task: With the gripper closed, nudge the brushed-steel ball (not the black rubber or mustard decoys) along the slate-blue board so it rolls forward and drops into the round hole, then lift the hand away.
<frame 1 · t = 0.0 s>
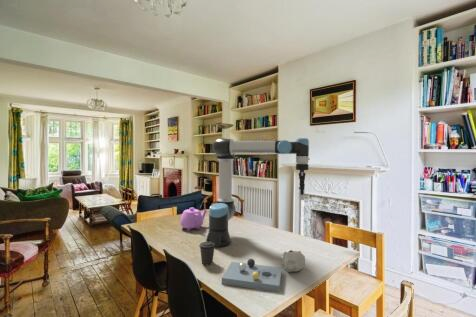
hand: (301, 198, 150), 28 cm above the table, fingers open, 13 cm apart
candle: (293, 268, 117), on the table
coffee cup: (207, 263, 122), on the table
black ball: (251, 262, 113), point 4 cm above the table, touching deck
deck: (253, 278, 108), on the table
teapot: (195, 228, 179), on the table
steel ball: (242, 267, 109), point 4 cm above the table, touching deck
mustard ball: (255, 275, 102), point 4 cm above the table, touching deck
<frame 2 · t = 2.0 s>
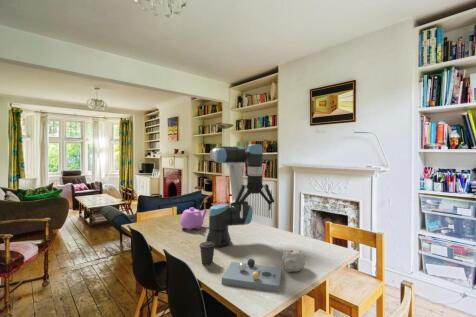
hand: (254, 217, 123), 23 cm above the table, fingers open, 13 cm apart
nothing on the table moved.
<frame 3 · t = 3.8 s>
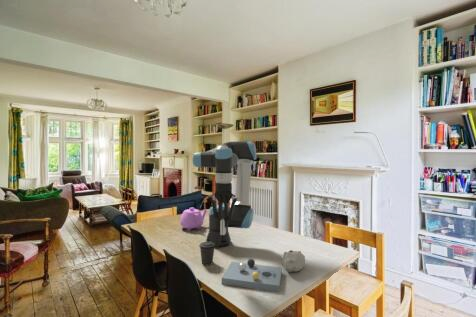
hand: (223, 233, 111), 18 cm above the table, fingers closed
nothing on the table moved.
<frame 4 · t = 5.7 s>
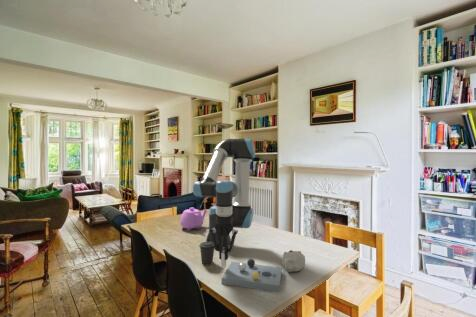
hand: (223, 266, 111), 4 cm above the table, fingers closed
nothing on the table moved.
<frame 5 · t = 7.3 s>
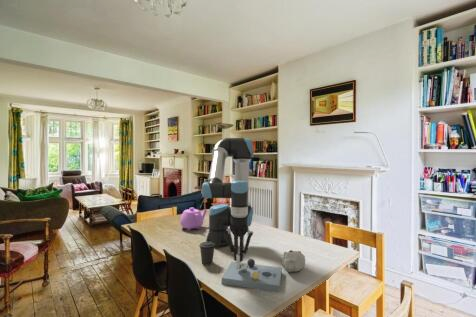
hand: (238, 268, 109), 4 cm above the table, fingers closed
steel ball: (243, 267, 108), point 4 cm above the table, tilted 27°, touching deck, gripper
everything else where it was.
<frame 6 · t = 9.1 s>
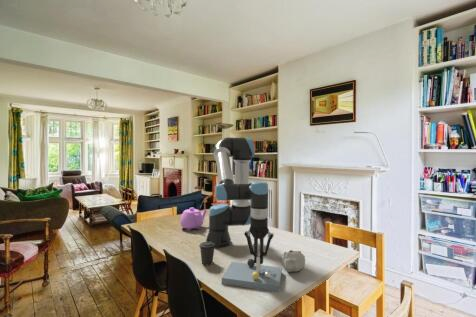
hand: (258, 270, 107), 4 cm above the table, fingers closed
steel ball: (267, 276, 106), point 2 cm above the table, tilted 43°
everything else where it was.
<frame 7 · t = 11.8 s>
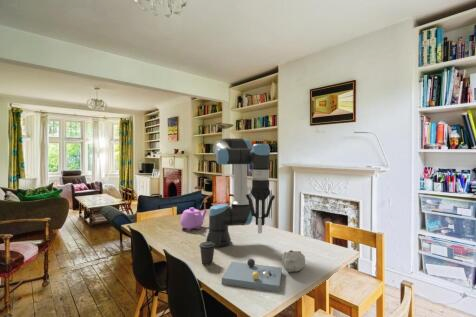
hand: (260, 232, 107), 20 cm above the table, fingers closed
steel ball: (265, 275, 106), point 2 cm above the table, tilted 15°
everything else where it was.
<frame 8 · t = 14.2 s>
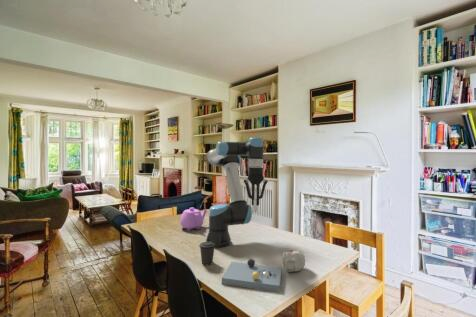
hand: (255, 211, 129), 24 cm above the table, fingers closed
nothing on the table moved.
at the end: steel ball 0.4 cm from the target spot in the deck, point 1.7 cm above the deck's base; black ball moved 0.0 cm from its start; mustard ball moved 0.0 cm from its start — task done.
